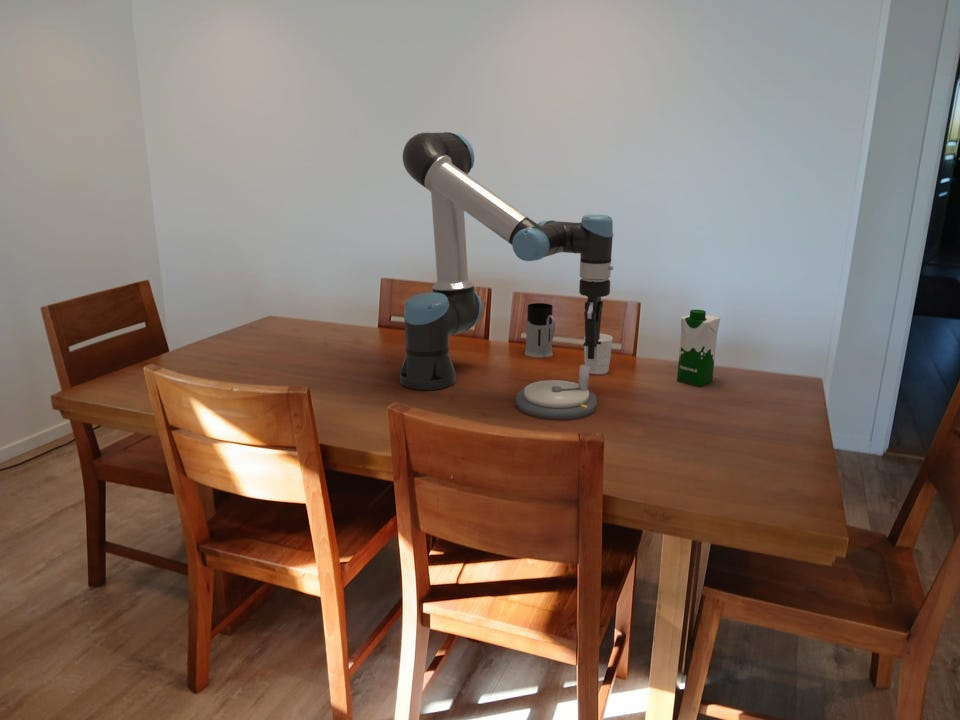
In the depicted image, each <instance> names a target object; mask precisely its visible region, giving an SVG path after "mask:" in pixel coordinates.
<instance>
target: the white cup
mask: <svg viewBox="0 0 960 720" xmlns="http://www.w3.org/2000/svg"><path fill="white" fill-rule="evenodd" d="M583 341H584V342H583V344H584V343H585V335H584V337H583ZM598 341H601V344H597V345H598V358H597V370H596V371H590V370H589V375H590V374H591V375H605V374H607V373H609V370H610V369H609V367H610V362H611V356H612V348H613V347H612V345H613V336H612V335H609V334H605V333H600V339H599V340H598ZM583 348H584V349H583V357H584V359H583V360H584V365H586V346H583Z"/></svg>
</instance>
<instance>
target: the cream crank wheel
mask: <svg viewBox="0 0 960 720" xmlns="http://www.w3.org/2000/svg"><path fill="white" fill-rule="evenodd" d="M589 378H590V373H589V365H585V364H580V365H579V371H578V383H577V382H573V381H567V380H561V379H560V380H557V379H548V380H545V379H544V380H538V381H535V382H531V383H529V384H528V385H526V386H524V388H525V389H524V388H523V389H524V397H525V399H526V400H527V401H529V402H530V403H533V404H535V405H539V406H543V407H550V408H570V407H576V406H580V405H582V404H584V403H586V402H587V401H588V399H589V391H590V390H589V383H590V382H589V381H590V379H589Z"/></svg>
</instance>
